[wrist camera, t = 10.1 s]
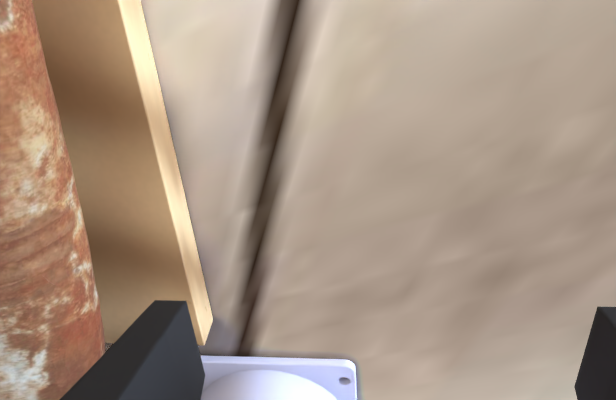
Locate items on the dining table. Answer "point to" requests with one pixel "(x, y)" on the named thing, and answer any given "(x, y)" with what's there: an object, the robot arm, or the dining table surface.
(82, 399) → the robot arm
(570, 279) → the dining table surface
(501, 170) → the dining table surface
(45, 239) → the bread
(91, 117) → the board
